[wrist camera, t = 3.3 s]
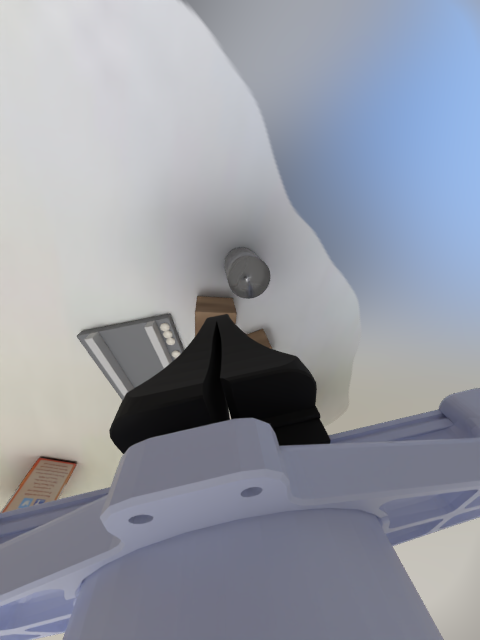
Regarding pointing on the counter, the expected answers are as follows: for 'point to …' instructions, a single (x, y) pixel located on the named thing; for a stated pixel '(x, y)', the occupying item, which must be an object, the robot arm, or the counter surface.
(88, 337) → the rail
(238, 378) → the robot arm
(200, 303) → the walnut block
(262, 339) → the walnut block
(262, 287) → the metal peg
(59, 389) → the counter surface
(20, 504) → the cracker box
